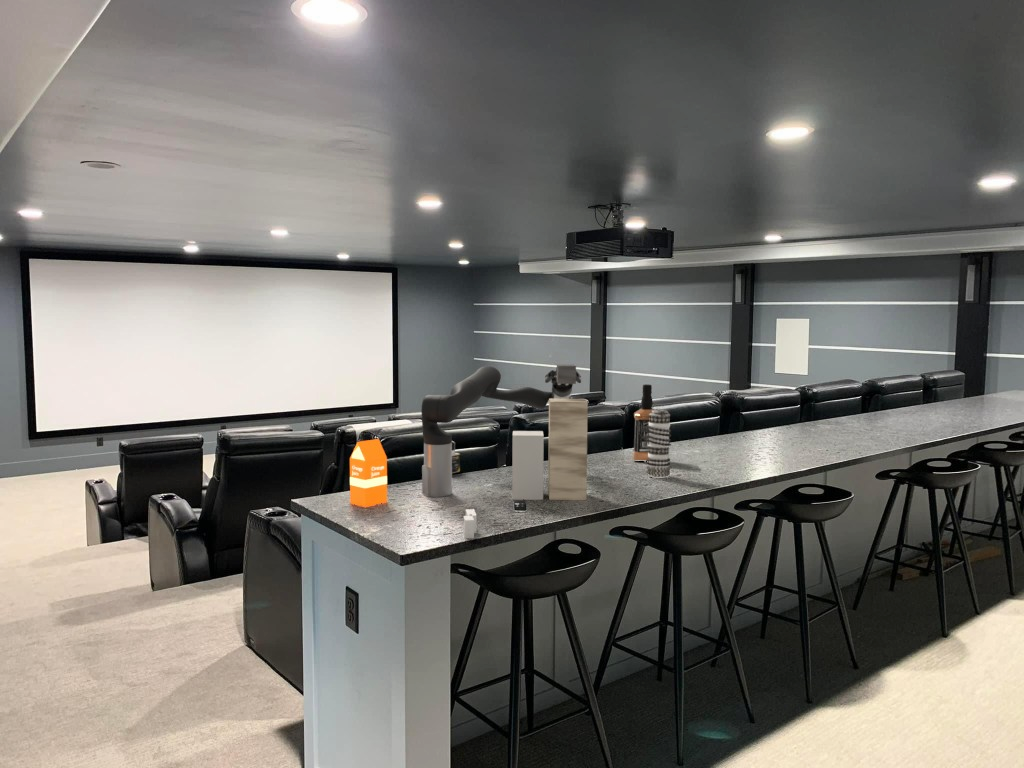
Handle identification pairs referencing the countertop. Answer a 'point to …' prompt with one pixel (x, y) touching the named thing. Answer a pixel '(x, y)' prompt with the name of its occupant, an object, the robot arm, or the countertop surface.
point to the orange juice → (368, 474)
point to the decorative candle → (658, 443)
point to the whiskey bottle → (642, 425)
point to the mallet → (566, 374)
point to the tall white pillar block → (527, 465)
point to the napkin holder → (470, 523)
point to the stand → (567, 449)
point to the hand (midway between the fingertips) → (564, 367)
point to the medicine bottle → (455, 460)
